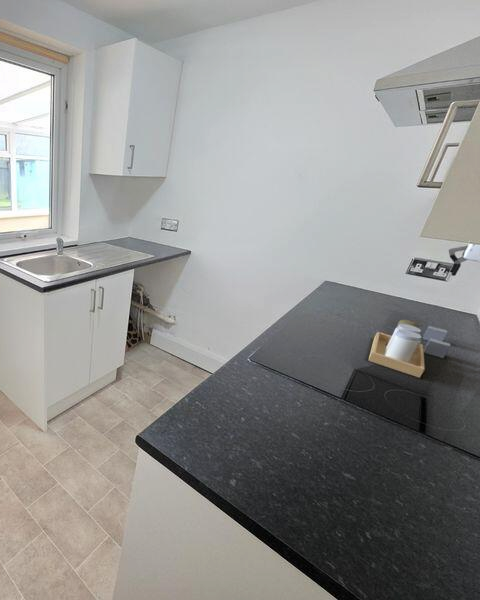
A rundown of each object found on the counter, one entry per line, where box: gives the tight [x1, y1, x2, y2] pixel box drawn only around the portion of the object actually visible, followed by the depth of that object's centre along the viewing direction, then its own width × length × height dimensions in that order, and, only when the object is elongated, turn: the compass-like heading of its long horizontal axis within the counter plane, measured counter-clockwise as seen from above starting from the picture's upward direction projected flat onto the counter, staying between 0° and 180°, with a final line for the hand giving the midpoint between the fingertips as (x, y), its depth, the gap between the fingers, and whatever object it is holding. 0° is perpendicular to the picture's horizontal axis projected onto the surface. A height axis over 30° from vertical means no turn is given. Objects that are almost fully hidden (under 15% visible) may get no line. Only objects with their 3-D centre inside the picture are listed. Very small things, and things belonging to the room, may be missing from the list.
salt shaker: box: [384, 330, 423, 363], centre depth 103 cm, size 6×6×11 cm
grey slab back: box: [422, 325, 448, 342], centre depth 122 cm, size 5×3×5 cm, turn 45°
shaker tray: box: [367, 331, 426, 378], centre depth 109 cm, size 13×23×3 cm, turn 135°
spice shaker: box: [384, 324, 422, 353], centre depth 107 cm, size 6×6×11 cm
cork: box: [386, 319, 420, 346], centre depth 112 cm, size 6×6×11 cm
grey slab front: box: [423, 338, 451, 359], centre depth 112 cm, size 5×3×5 cm, turn 45°
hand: (474, 278), depth 104 cm, fingers open, 9 cm apart
